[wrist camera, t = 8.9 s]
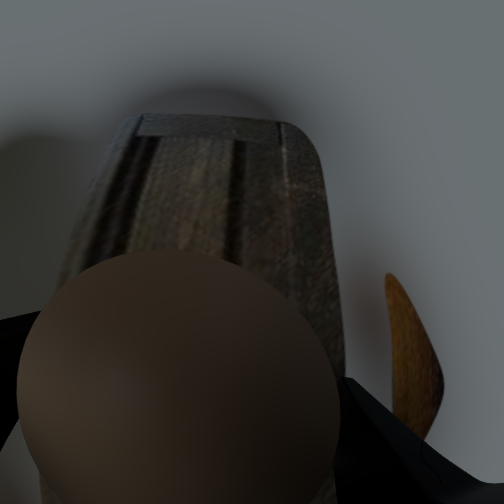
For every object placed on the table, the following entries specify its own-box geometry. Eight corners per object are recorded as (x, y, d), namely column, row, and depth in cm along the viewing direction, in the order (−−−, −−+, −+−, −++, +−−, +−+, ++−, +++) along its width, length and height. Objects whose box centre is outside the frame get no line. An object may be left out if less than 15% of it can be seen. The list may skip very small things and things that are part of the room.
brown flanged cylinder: (233, 460, 13) (279, 579, 2) (133, 423, 13) (-6, 457, 3) (264, 366, 16) (368, 307, 5) (167, 332, 16) (91, 212, 5)
